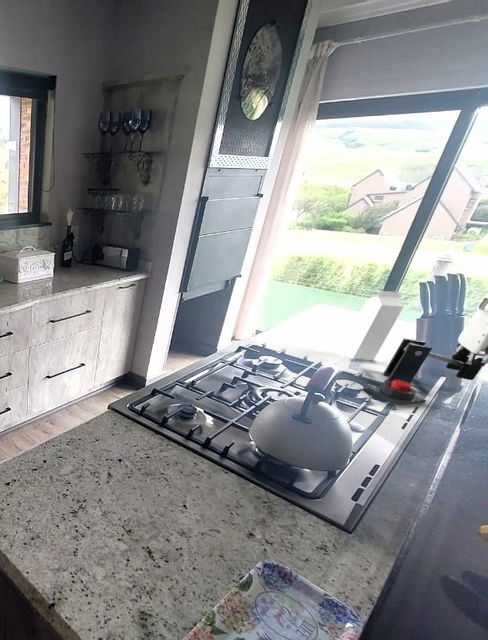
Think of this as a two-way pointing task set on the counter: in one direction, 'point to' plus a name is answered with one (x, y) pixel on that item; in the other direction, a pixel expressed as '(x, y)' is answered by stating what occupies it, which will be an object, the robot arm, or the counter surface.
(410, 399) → the button box
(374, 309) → the milk
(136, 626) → the counter surface
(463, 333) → the robot arm
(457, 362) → the lever
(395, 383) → the button
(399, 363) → the bracket
